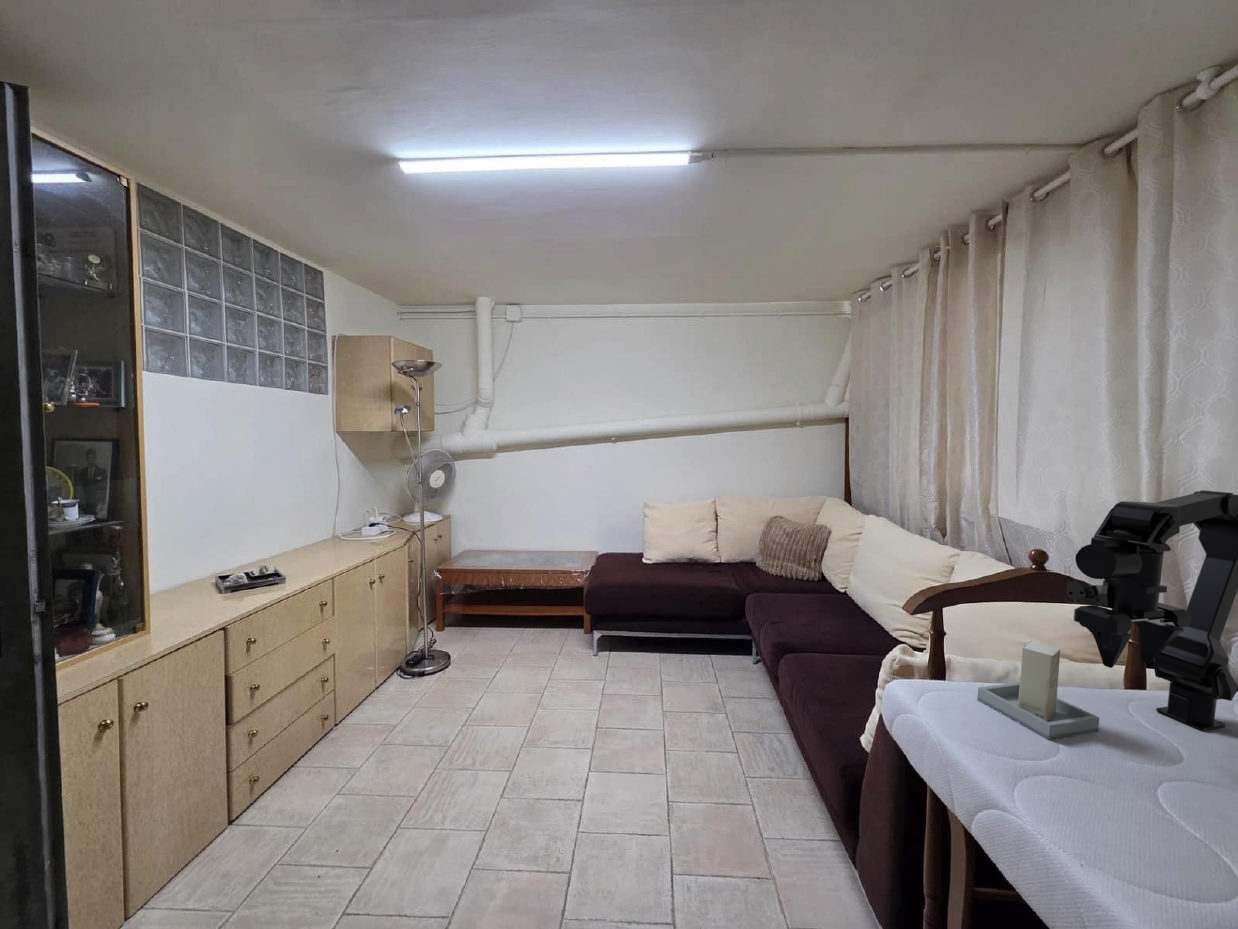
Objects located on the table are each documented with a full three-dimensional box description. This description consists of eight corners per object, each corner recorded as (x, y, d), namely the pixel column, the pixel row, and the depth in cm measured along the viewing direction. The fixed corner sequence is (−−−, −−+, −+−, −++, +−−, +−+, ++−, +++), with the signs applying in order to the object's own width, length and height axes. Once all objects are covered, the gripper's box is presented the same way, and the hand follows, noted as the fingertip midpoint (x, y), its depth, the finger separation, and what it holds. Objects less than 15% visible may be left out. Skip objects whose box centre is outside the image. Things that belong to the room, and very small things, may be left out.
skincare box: (1047, 723, 87) (1053, 656, 86) (1015, 711, 91) (1021, 647, 90) (1056, 712, 91) (1062, 648, 90) (1025, 701, 94) (1031, 639, 94)
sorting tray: (1023, 694, 98) (1024, 681, 98) (1098, 731, 86) (1099, 717, 86) (977, 700, 96) (978, 687, 95) (1048, 739, 83) (1049, 725, 83)
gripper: (1117, 562, 95) (1109, 641, 96) (1044, 565, 90) (1036, 648, 91) (1197, 579, 84) (1187, 668, 85) (1119, 584, 80) (1109, 678, 81)
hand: (1126, 664), depth 86 cm, fingers open, 9 cm apart
